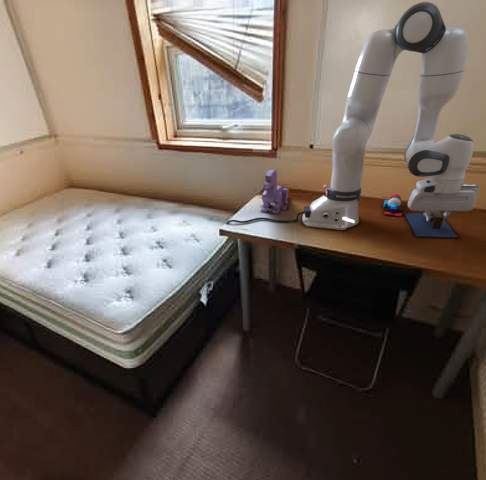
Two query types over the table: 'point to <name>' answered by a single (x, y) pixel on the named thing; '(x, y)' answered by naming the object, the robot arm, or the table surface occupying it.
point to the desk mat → (428, 227)
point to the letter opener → (435, 219)
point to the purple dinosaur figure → (274, 193)
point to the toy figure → (393, 205)
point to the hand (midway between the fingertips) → (434, 221)
